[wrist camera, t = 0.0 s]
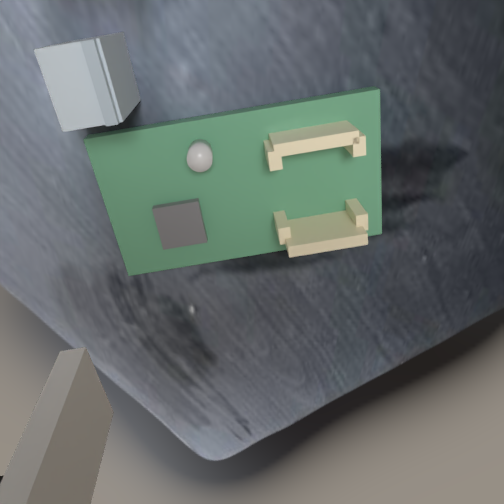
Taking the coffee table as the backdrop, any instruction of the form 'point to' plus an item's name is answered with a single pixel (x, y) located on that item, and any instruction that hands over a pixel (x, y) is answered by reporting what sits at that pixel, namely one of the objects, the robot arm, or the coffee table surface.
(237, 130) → the board
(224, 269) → the coffee table surface
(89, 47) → the plug
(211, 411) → the coffee table surface
